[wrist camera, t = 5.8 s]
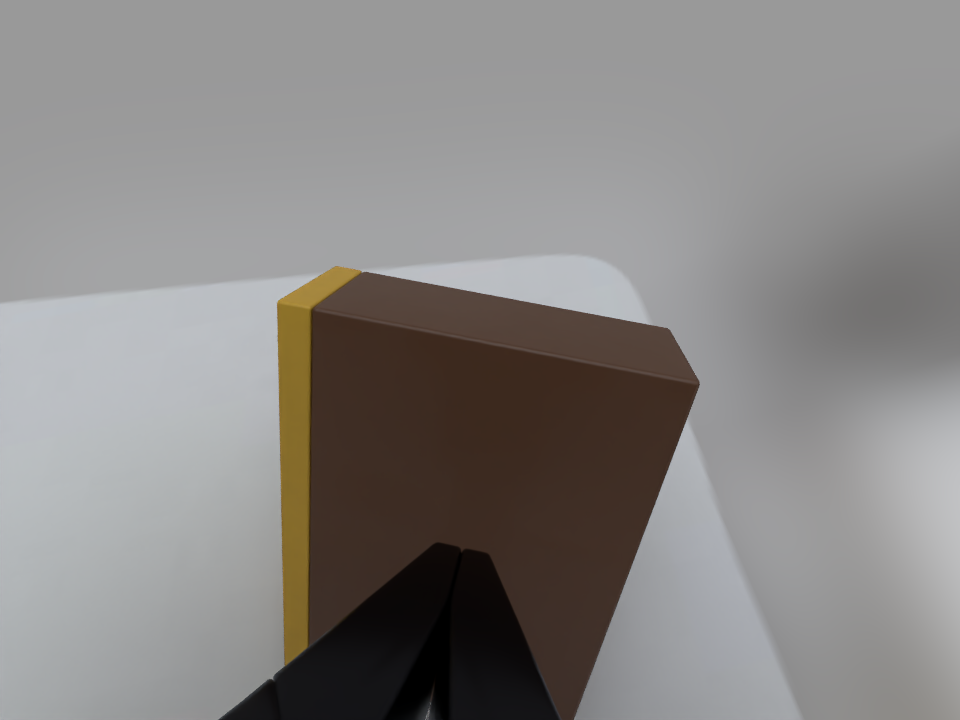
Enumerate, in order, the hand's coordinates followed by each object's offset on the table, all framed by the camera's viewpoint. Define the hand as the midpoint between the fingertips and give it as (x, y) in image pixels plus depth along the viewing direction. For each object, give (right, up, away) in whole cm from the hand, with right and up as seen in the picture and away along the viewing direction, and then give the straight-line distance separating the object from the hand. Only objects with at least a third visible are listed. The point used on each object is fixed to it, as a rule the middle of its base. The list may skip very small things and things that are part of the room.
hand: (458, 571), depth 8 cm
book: (-1, -5, +5) cm, 7 cm away
